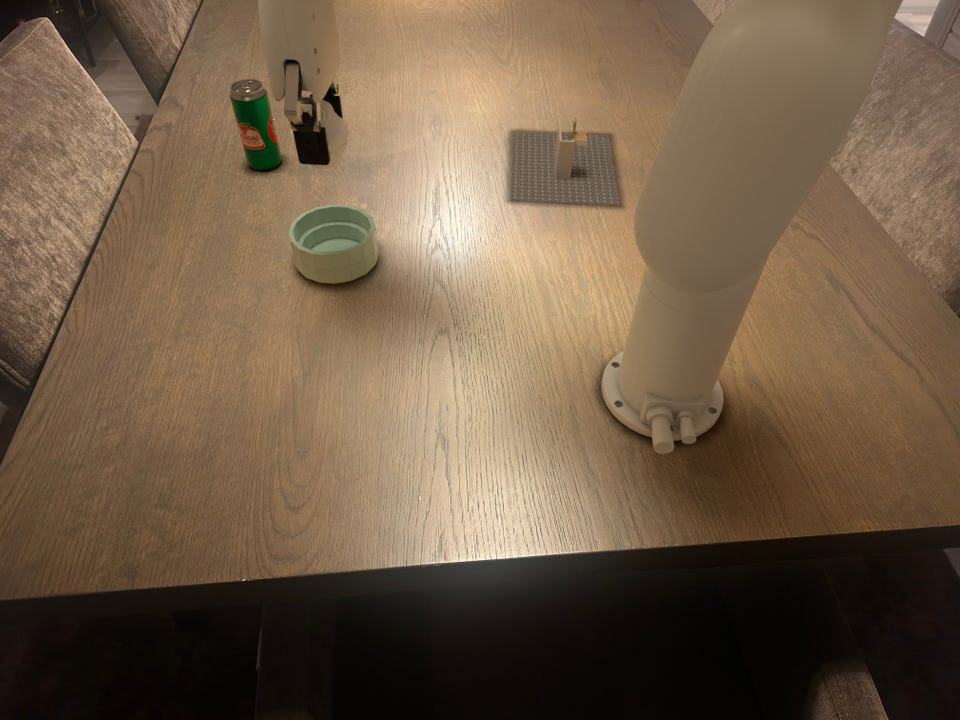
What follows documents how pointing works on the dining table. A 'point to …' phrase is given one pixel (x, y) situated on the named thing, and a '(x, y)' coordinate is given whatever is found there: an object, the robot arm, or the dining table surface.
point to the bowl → (334, 243)
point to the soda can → (255, 124)
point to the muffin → (330, 132)
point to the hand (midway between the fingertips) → (322, 145)
